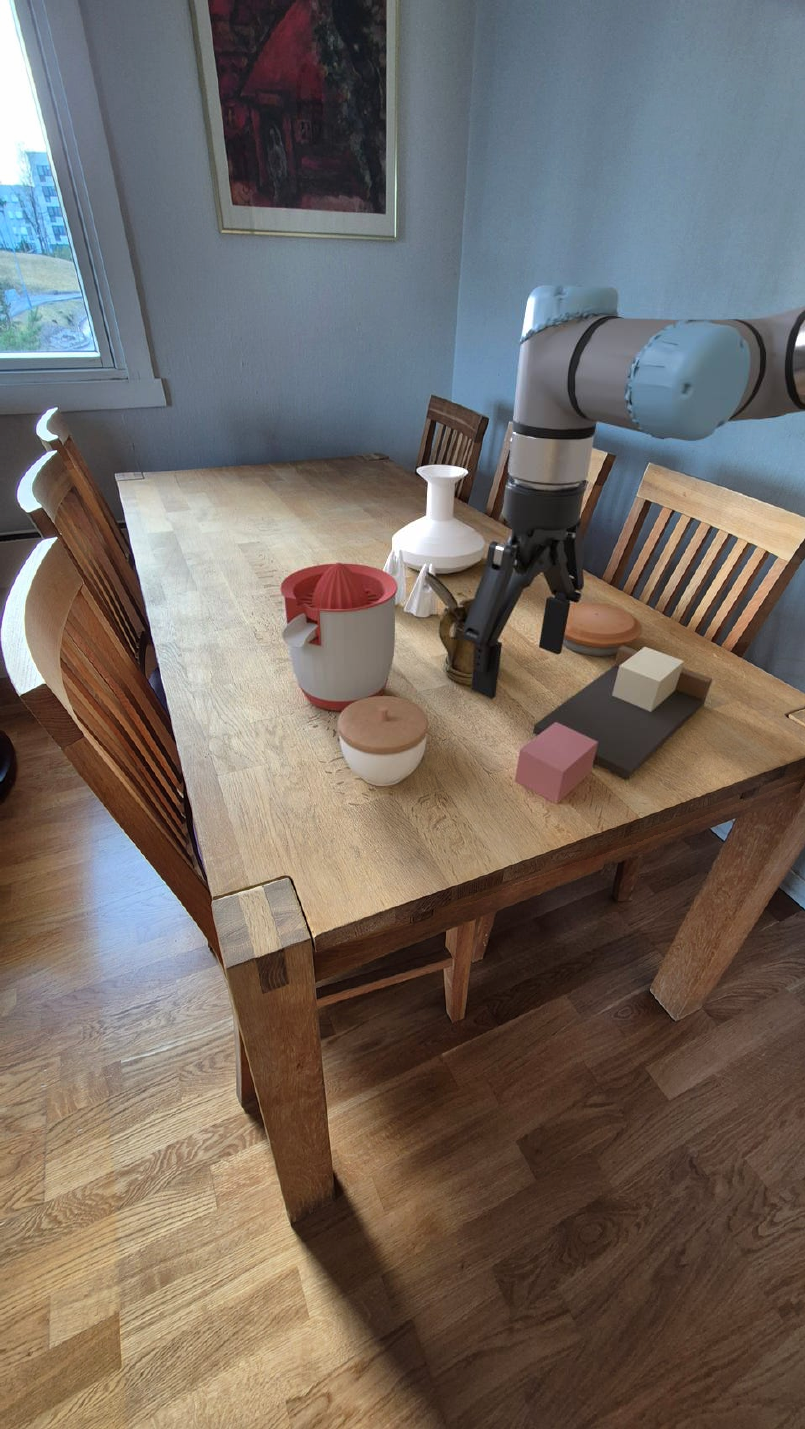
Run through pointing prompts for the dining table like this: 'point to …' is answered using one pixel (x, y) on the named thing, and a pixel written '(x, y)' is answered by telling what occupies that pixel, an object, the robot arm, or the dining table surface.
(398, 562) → the shaker set
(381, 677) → the citrus juicer
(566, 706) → the backrest board
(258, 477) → the dining table surface
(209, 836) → the dining table surface
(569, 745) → the pink block
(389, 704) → the trinket box
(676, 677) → the cream block
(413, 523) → the white vase
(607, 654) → the pie
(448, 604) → the wooden mug
